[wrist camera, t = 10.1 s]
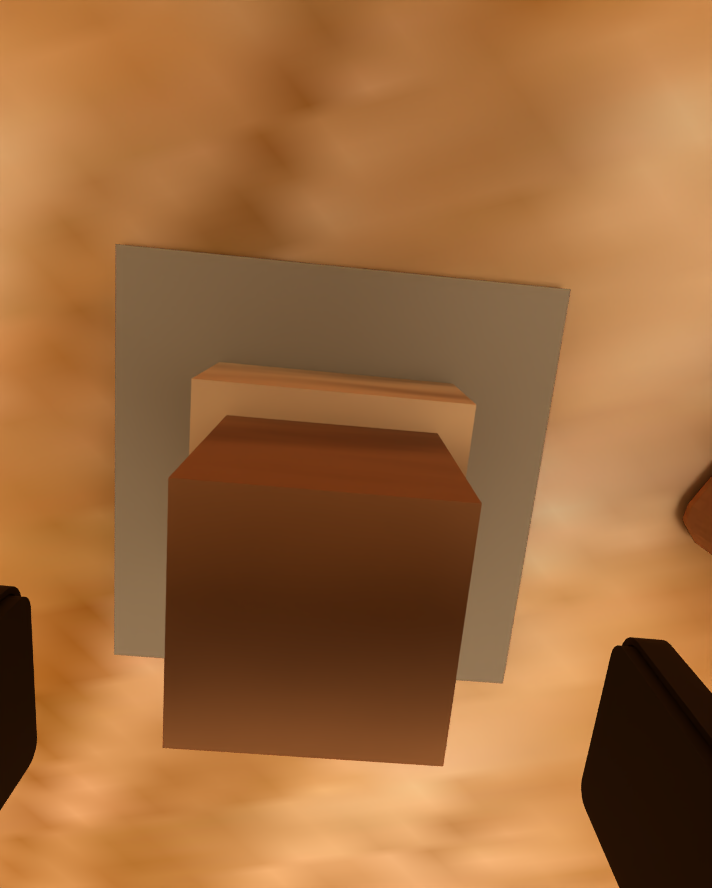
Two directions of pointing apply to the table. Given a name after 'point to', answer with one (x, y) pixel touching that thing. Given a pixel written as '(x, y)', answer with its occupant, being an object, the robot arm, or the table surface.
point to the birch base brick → (331, 402)
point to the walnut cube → (316, 592)
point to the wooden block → (700, 517)
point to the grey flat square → (339, 351)
